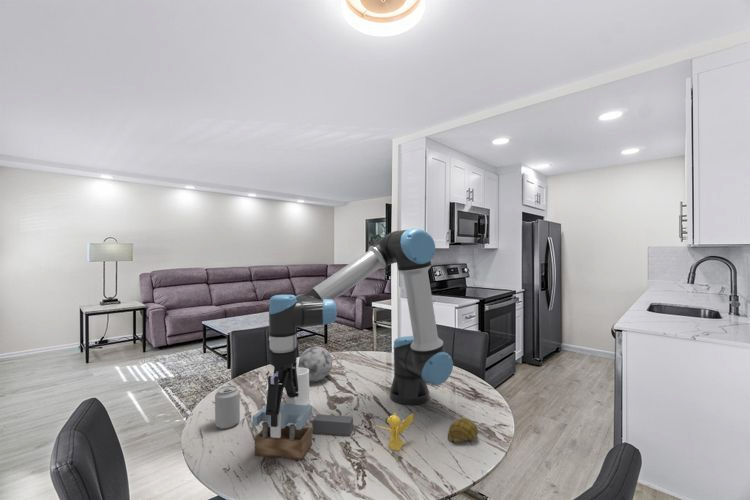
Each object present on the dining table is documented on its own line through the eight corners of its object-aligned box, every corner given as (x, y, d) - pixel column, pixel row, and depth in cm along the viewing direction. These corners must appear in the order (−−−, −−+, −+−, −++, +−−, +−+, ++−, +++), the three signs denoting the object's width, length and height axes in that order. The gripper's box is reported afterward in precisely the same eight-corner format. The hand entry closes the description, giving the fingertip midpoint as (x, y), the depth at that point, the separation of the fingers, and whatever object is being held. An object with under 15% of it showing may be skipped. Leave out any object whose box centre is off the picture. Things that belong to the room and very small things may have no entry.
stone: (291, 381, 149) (291, 347, 149) (318, 371, 161) (318, 340, 161) (313, 390, 139) (312, 353, 139) (340, 379, 151) (340, 345, 151)
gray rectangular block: (353, 429, 108) (353, 416, 108) (350, 435, 104) (350, 422, 104) (317, 426, 110) (317, 414, 110) (312, 432, 106) (312, 420, 106)
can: (215, 432, 107) (215, 394, 107) (214, 422, 114) (214, 386, 114) (241, 426, 111) (240, 389, 111) (238, 416, 117) (238, 382, 118)
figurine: (380, 428, 108) (379, 401, 108) (414, 438, 102) (414, 409, 102) (360, 447, 98) (359, 417, 98) (397, 459, 92) (396, 427, 92)
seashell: (455, 458, 99) (468, 446, 95) (438, 436, 103) (449, 424, 98) (473, 439, 106) (486, 427, 101) (457, 419, 109) (468, 407, 105)
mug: (300, 413, 120) (300, 379, 120) (278, 411, 121) (278, 377, 121) (313, 398, 131) (313, 367, 131) (292, 397, 133) (292, 366, 133)
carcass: (312, 444, 100) (311, 414, 100) (301, 460, 92) (301, 427, 92) (267, 440, 102) (267, 410, 102) (254, 456, 95) (253, 423, 95)
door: (312, 414, 101) (312, 405, 101) (300, 429, 92) (300, 420, 92) (268, 410, 103) (268, 402, 103) (252, 425, 94) (252, 416, 94)
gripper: (286, 339, 109) (287, 409, 109) (250, 360, 87) (251, 448, 87) (309, 339, 108) (309, 411, 107) (278, 361, 86) (278, 450, 86)
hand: (283, 427), depth 97 cm, fingers closed on door, 9 cm apart
